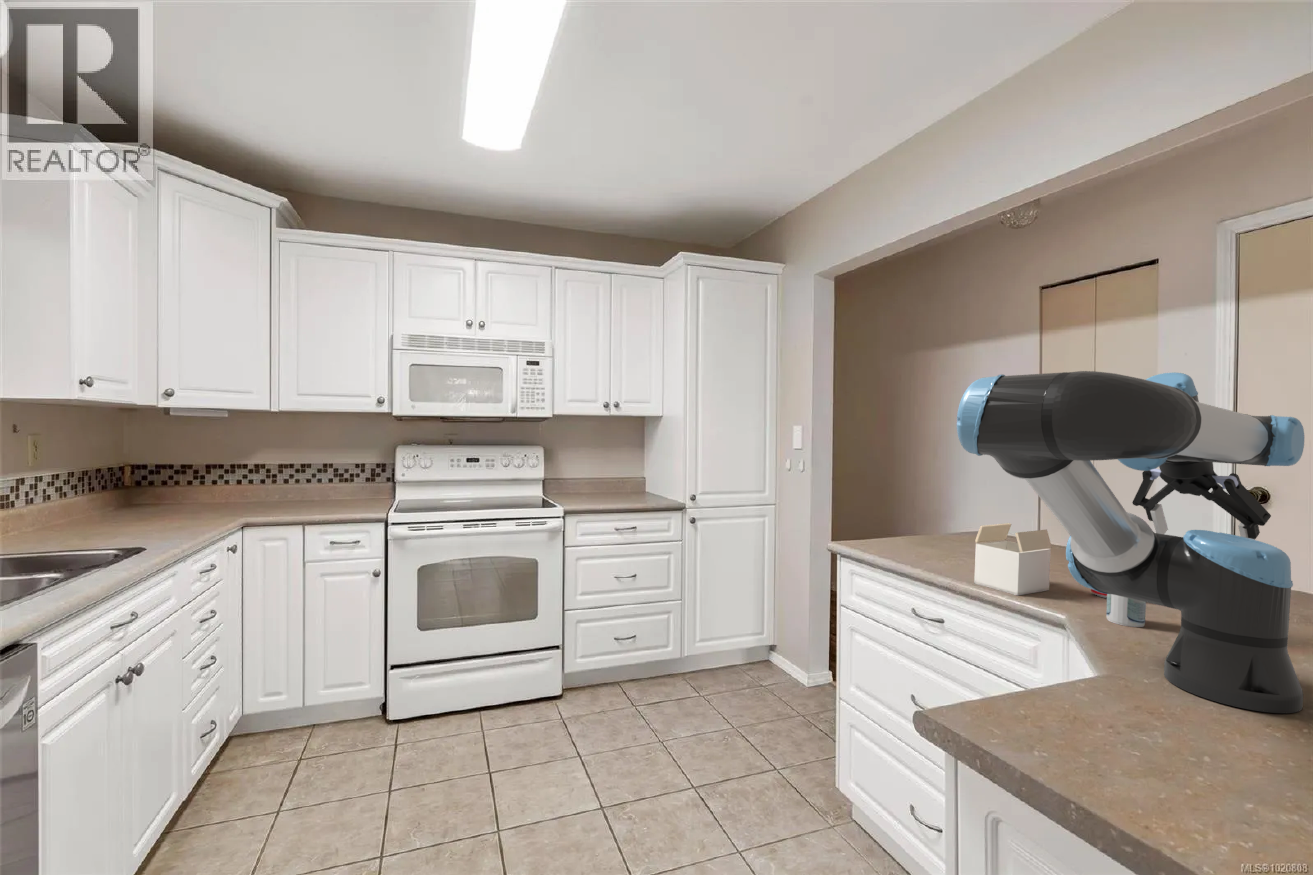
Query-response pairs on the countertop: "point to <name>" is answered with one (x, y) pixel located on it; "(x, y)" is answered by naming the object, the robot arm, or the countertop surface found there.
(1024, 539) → the near flap
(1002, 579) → the carton
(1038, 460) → the robot arm
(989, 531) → the far flap
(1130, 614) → the spray can
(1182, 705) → the countertop surface
